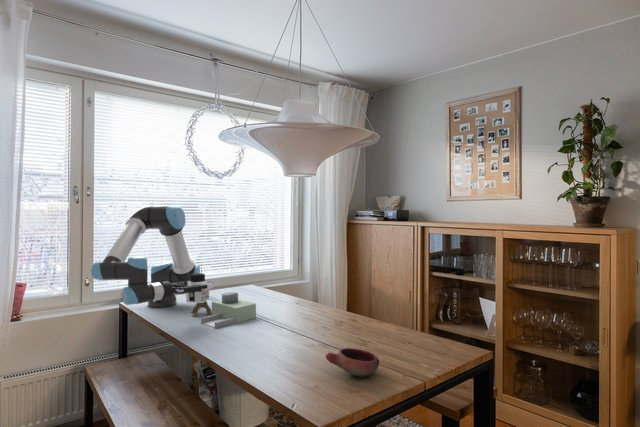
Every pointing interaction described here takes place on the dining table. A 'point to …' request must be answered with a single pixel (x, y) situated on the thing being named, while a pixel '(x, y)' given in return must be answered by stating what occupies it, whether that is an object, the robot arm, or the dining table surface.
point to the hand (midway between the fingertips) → (205, 283)
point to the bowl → (355, 361)
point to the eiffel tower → (201, 306)
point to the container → (197, 296)
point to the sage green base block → (229, 311)
